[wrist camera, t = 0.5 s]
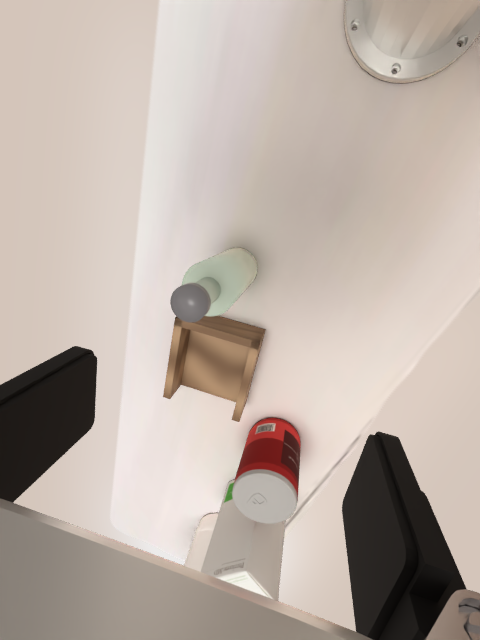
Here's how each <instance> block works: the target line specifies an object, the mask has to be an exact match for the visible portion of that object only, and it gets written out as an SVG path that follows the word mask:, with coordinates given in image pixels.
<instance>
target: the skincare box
mask: <svg viewBox="0 0 480 640" xmlns="http://www.w3.org/2000/svg"><path fill="white" fill-rule="evenodd" d="M234 482H235V480H232V481H230V482H229V483H228V485H227V489H226V492H225V495H224V498H223V501H222V505H221V508H220V511H219V514H218V517H217V521H216V524H215V527H214V530H213V533H212V537H211V540H210V543H209V546H208V550H207V553H206V556H205V559H204V562H203V566H202V569H201V572H202V573H205V574H207V575H210V576H213V577H215V578H218V579H220V580H223V581H226V582H228V583H231V584H234V585H236V586H239V587H242V588H244V589H247V590H250V591H252V592H255V593H258V594H260V595H263V596H266V597H268V598H271V599H274V600H276V601H278V595H279V583H280V572H281V563H282V552H283V542H284V532H285V522H286V520H285V521H282V522H280V523H275V524H266V523H260V522H256V521H254V520H251V519H249V518H248V517H246V516H245V515H243V514H242V513H241V512H240V511H239V510H238V509H237V507H236V506H235V504H234V501H233V498H232V491H233V485H234Z"/></svg>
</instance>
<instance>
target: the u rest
mask: <svg viewBox="0 0 480 640" xmlns="http://www.w3.org/2000/svg"><path fill="white" fill-rule="evenodd" d="M264 334H265V329H262V328H258V327H255V326H251V325H248V324H244V323H241V322H237V321H234V320H230V319H227V318H223V317H220V316H204V317H203V318H202V319H200V320H199V321H197V322H185V321H183V320H181V319H179V318H178V317H176V318H175V323H174V329H173V336H172V342H171V349H170V356H169V362H168V369H167V375H166V382H165V388H164V395H163V397H165V398H168V399H170V398H171V397H172V396H173V394H174V393H175V392H176V391H177V389H178V388H179V387H180V385H184V386H187V387H191V388H194V389H197V390H200V391H203V392H206V393H209V394H212V395H215V396H218V397H221V398H225V399H228V400H231V401H234V402H236V406H235V410H234V413H233V417H232V420H234V421H237V422H239V421H240V418H241V415H242V412H243V409H244V407H245V404H246V400H247V397H248V393H249V389H250V386H251V382H252V378H253V374H254V371H255V367H256V363H257V360H258V356H259V352H260V348H261V345H262V341H263V337H264Z"/></svg>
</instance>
